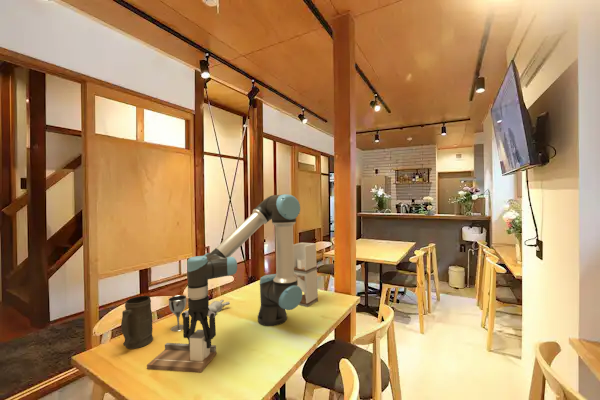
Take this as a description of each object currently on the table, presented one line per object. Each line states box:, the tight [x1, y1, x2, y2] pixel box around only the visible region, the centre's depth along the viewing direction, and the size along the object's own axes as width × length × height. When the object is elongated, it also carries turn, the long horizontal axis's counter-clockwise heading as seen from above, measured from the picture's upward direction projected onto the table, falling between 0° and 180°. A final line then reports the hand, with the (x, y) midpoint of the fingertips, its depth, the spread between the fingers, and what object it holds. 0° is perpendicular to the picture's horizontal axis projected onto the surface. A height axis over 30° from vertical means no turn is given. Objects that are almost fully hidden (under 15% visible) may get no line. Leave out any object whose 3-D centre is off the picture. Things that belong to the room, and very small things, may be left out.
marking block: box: [189, 329, 210, 361], centre depth 106 cm, size 5×6×9 cm
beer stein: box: [120, 295, 154, 350], centre depth 119 cm, size 15×11×20 cm
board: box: [146, 342, 217, 374], centre depth 106 cm, size 22×12×4 cm, turn 81°
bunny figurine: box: [208, 299, 231, 314], centre depth 154 cm, size 10×5×15 cm
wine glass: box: [168, 294, 187, 332], centre depth 134 cm, size 8×8×15 cm
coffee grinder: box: [293, 242, 319, 308], centre depth 163 cm, size 11×11×35 cm
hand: (200, 355), depth 106 cm, fingers closed on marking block, 5 cm apart
